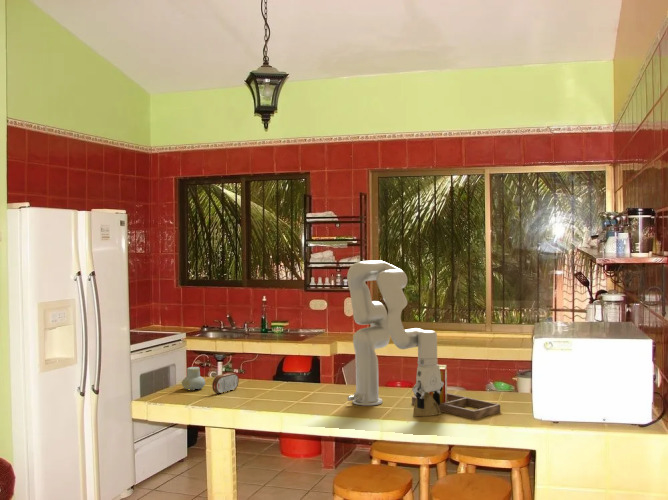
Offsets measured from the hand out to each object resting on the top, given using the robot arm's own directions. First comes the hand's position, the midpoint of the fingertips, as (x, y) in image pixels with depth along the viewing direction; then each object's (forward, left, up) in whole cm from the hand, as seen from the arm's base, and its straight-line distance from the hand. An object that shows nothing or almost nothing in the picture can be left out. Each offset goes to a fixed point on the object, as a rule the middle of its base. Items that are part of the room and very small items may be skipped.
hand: (428, 406), depth 273 cm
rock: (-1, 0, -4) cm, 4 cm away
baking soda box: (+16, +9, -4) cm, 19 cm away
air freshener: (-46, +106, -4) cm, 116 cm away
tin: (-38, +90, -4) cm, 98 cm away
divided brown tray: (+16, 0, -3) cm, 16 cm away
